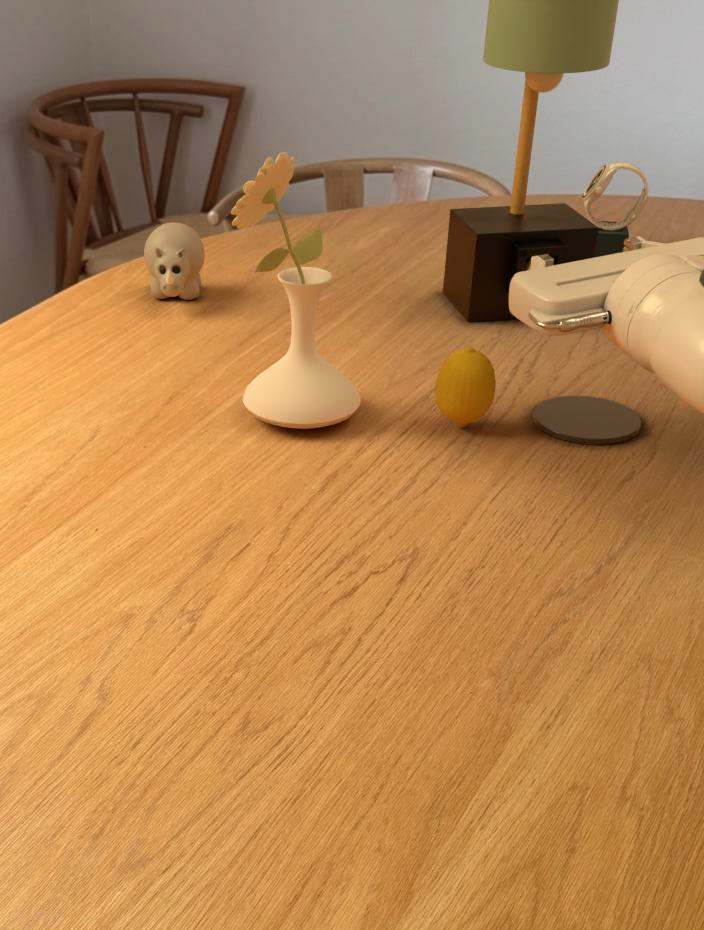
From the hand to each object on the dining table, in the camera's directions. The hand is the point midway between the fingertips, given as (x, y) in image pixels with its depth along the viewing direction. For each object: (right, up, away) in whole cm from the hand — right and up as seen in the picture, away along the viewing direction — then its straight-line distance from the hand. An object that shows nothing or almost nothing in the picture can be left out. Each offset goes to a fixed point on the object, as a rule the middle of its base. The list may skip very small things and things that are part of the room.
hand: (584, 253), depth 119 cm
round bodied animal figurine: (-40, +4, +31) cm, 51 cm away
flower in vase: (-27, -15, +3) cm, 31 cm away
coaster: (+1, -16, +2) cm, 16 cm away
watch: (+16, +14, +45) cm, 50 cm away
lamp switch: (+1, +3, +20) cm, 21 cm away
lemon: (-11, -16, +1) cm, 20 cm away
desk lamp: (0, +3, +29) cm, 29 cm away
